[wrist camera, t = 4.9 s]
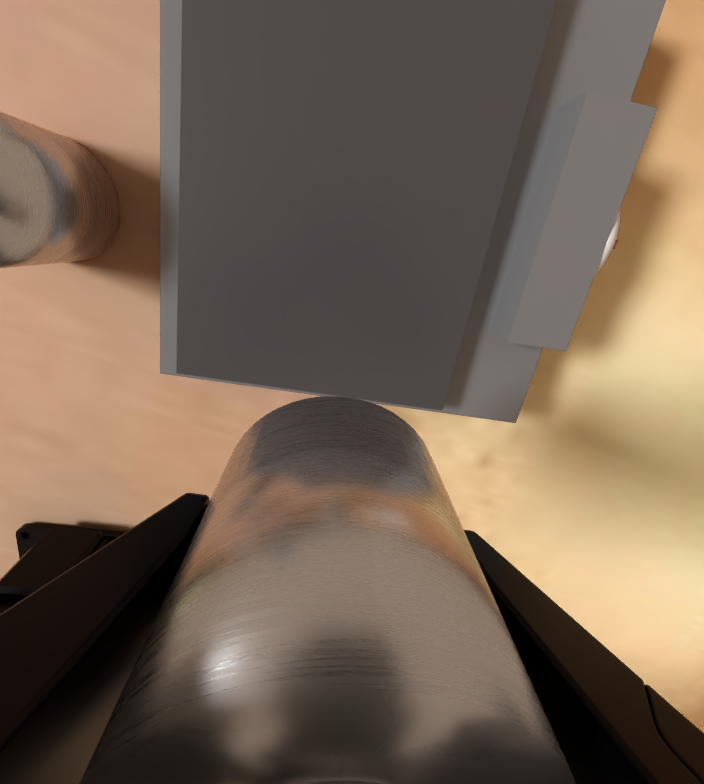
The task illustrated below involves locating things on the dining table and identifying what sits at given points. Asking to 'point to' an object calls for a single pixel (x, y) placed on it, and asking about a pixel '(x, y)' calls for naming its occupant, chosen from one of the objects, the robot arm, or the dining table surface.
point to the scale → (391, 189)
